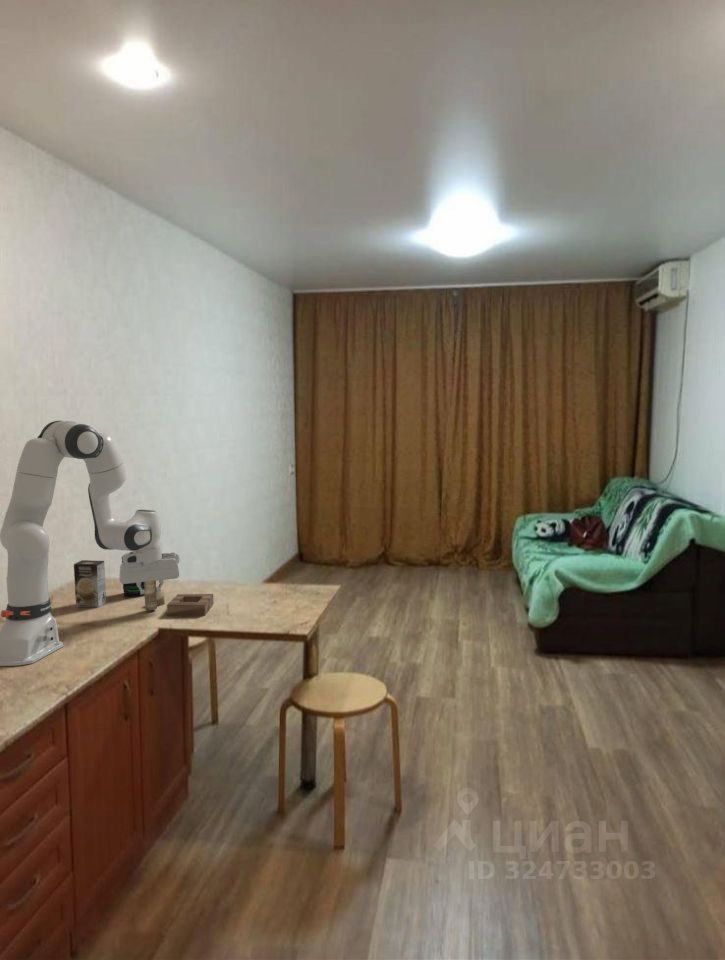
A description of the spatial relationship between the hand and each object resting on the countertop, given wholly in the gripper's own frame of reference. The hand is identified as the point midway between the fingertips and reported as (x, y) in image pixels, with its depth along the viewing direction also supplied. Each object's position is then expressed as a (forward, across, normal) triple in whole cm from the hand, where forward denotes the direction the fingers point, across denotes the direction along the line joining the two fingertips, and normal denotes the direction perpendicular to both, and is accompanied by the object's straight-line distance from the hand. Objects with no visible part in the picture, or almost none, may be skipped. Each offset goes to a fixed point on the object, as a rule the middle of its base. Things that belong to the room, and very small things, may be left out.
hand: (150, 593), depth 243 cm
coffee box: (+7, +20, -17) cm, 27 cm away
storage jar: (+7, +3, -25) cm, 26 cm away
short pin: (+6, -3, -7) cm, 10 cm away
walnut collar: (+6, -13, +6) cm, 16 cm away
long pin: (+6, 0, 0) cm, 6 cm away
